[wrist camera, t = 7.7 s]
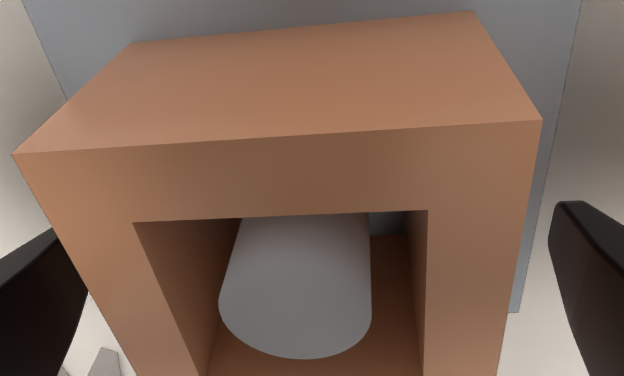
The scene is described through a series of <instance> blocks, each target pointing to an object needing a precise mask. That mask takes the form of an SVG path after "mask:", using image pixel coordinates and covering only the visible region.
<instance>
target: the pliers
mask: <svg viewBox="0 0 624 376" xmlns="http://www.w3.org/2000/svg"><path fill="white" fill-rule="evenodd" d="M58 376H69V375H68V373H67V372H66V371H65V370H64V368H63V367H62V366H61V369H60V371H59V373H58ZM87 376H121V374H120V367H119V361H118V355H117V352H115V351H111V350H108V349H104V348H101V349H100V351H99V353H98V355H97V357H96V359H95V361H94V363H93V365H92V367H91V369H90V371H89V373H88V375H87Z"/></svg>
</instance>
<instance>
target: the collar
mask: <svg viewBox="0 0 624 376" xmlns="http://www.w3.org/2000/svg"><path fill="white" fill-rule="evenodd" d="M542 123H543V118H542V117H541V115H540V114H539V112H538V111H537V109H536V108H535V106H534V104H533V103H532V101H531V100H530V98H529V97H528V95H527V94H526V92H525V90H524V89H523V87H522V86H521V84H520V83H519V81H518V80H517V78H516V76H515V75H514V73H513V72H512V70H511V69H510V67H509V66H508V64H507V62H506V61H505V59H504V58H503V56H502V55H501V53H500V51H499V50H498V48H497V47H496V45H495V44H494V42H493V41H492V39H491V37H490V36H489V34H488V33H487V31H486V30H485V28H484V27H483V25H482V23H481V22H480V20H479V19H478V17H477V16H476V14H475V13H474V11H473V10H471V11H460V12H450V13H439V14H428V15H418V16H407V17H397V18H386V19H376V20H365V21H355V22H344V23H334V24H323V25H313V26H302V27H291V28H281V29H270V30H260V31H249V32H239V33H228V34H218V35H207V36H197V37H186V38H176V39H165V40H154V41H144V42H133V43H129V44H128V45H127V46H126V47H125V48H124V49H123V50H122V51H121V52H120V53H119V54H118V55H117V56H115V57H114V58H113V59H112V60H111V61H110V62H109V63H108V64H107V65H106V66H105V67H104V68H103V69H102V70H100V71H99V72H98V73H97V74H96V75H95V76H94V77H93V78H92V79H91V80H90V81H89V82H88V83H86V84H85V85H84V86H83V87H82V88H81V89H80V90H79V91H78V92H77V93H76V94H75V95H74V96H72V97H71V98H70V99H69V100H68V101H67V102H66V103H65V104H64V105H63V106H62V107H61V108H60V109H59V110H57V111H56V112H55V113H54V114H53V115H52V116H51V117H50V118H49V119H48V120H47V121H46V122H45V123H43V124H42V125H41V126H40V127H39V128H38V129H37V130H36V131H35V132H34V133H33V134H32V135H31V136H29V137H28V138H27V139H26V140H25V141H24V142H23V143H22V144H21V145H20V146H19V147H18V148H17V149H16V150H14V151H13V152H12V153H11V155H12V157H13V159H14V161H15V162H16V164H17V166H18V168H19V169H20V171H21V173H22V175H23V177H24V178H25V180H26V182H27V184H28V185H29V187H30V189H31V191H32V192H33V194H34V196H35V198H36V199H37V201H38V203H39V205H40V206H41V208H42V210H43V212H44V213H45V215H46V217H47V219H48V220H49V222H50V224H51V226H52V227H53V229H54V231H55V233H56V234H57V236H58V238H59V240H60V241H61V243H62V245H63V247H64V248H65V250H66V252H67V254H68V255H69V257H70V259H71V261H72V262H73V264H74V266H75V268H76V269H77V271H78V273H79V275H80V276H81V278H82V280H83V282H84V283H85V285H86V287H87V289H88V290H89V292H90V294H91V296H92V297H93V299H94V301H95V303H96V304H97V306H98V308H99V310H100V311H101V313H102V315H103V317H104V318H105V320H106V322H107V324H108V325H109V327H110V329H111V331H112V332H113V334H114V336H115V338H116V339H117V341H118V343H119V345H120V346H121V348H122V350H123V352H124V354H125V355H126V357H127V359H128V361H129V362H130V364H131V366H132V368H133V369H134V371H135V373H136V375H137V376H496V375H497V369H498V364H499V358H500V353H501V347H502V342H503V336H504V331H505V325H506V320H507V314H508V309H509V304H510V298H511V293H512V287H513V282H514V276H515V271H516V265H517V260H518V254H519V249H520V243H521V238H522V232H523V227H524V221H525V216H526V210H527V205H528V199H529V194H530V188H531V183H532V177H533V172H534V166H535V161H536V155H537V150H538V145H539V139H540V134H541V128H542ZM386 211H405V234H398V235H370V270H371V305H372V319H371V323H370V326H369V329H368V331H367V332H366V334H365V335H364V337H363V338H362V339H361V340H360V341H359V342H358V343H356V344H355V345H354V346H353V347H351V348H349V349H347V350H345V351H343V352H341V353H339V354H335V355H332V356H329V357H324V358H317V359H290V358H283V357H278V356H274V355H270V354H267V353H264V352H262V351H259V350H257V349H255V348H253V347H251V346H249V345H247V344H246V343H244V342H243V341H241V340H240V339H238V338H237V337H236V336H235V335H234V334H233V333H232V332H231V331H230V330H229V329H228V328H227V326H226V325H225V323H224V322H223V320H222V317H221V315H220V312H219V305H218V300H219V294H220V291H221V288H222V284H223V281H224V278H225V274H226V271H227V268H228V264H229V261H230V258H231V254H232V251H233V248H234V244H235V241H236V237H237V234H238V231H239V227H240V222H239V218H246V217H269V216H293V215H316V214H339V213H362V212H386Z"/></svg>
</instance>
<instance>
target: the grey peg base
mask: <svg viewBox="0 0 624 376" xmlns="http://www.w3.org/2000/svg"><path fill="white" fill-rule="evenodd" d="M581 2H582V0H22V3H23V5H24V7H25V9H26V11H27V14H28V16H29V18H30V20H31V22H32V25H33V27H34V29H35V31H36V33H37V36H38V38H39V40H40V42H41V44H42V47H43V49H44V51H45V53H46V55H47V57H48V60H49V62H50V64H51V66H52V68H53V71H54V73H55V75H56V77H57V79H58V82H59V84H60V86H61V88H62V90H63V93H64V95H65V97H66V99H67V101H68V100H69V99H70V98H71V97H72V96H74V95H75V94H76V93H77V92H78V91H79V90H80V89H81V88H82V87H83V86H84V85H85V84H86V83H88V82H89V81H90V80H91V79H92V78H93V77H94V76H95V75H96V74H97V73H98V72H99V71H100V70H102V69H103V68H104V67H105V66H106V65H107V64H108V63H109V62H110V61H111V60H112V59H113V58H114V57H115V56H117V55H118V54H119V53H120V52H121V51H122V50H123V49H124V48H125V47H126V46H127V45H128V44H129V43H133V42H144V41H154V40H165V39H176V38H186V37H197V36H207V35H218V34H228V33H239V32H249V31H260V30H270V29H281V28H291V27H302V26H313V25H323V24H334V23H344V22H355V21H365V20H376V19H386V18H397V17H407V16H418V15H428V14H439V13H450V12H460V11H471V10H473V11H474V13H475V14H476V16H477V17H478V19H479V20H480V22H481V23H482V25H483V27H484V28H485V30H486V31H487V33H488V34H489V36H490V37H491V39H492V41H493V42H494V44H495V45H496V47H497V48H498V50H499V51H500V53H501V55H502V56H503V58H504V59H505V61H506V62H507V64H508V66H509V67H510V69H511V70H512V72H513V73H514V75H515V76H516V78H517V80H518V81H519V83H520V84H521V86H522V87H523V89H524V90H525V92H526V94H527V95H528V97H529V98H530V100H531V101H532V103H533V104H534V106H535V108H536V109H537V111H538V112H539V114H540V115H541V117H542V118H543V123H542V128H541V134H540V139H539V145H538V150H537V155H536V161H535V166H534V172H533V177H532V183H531V188H530V194H529V199H528V205H527V210H526V216H525V221H524V227H523V232H522V238H521V243H520V249H519V254H518V260H517V265H516V271H515V276H514V282H513V287H512V293H511V298H510V304H509V309H508V313H519V308H520V303H521V298H522V293H523V288H524V283H525V279H526V274H527V269H528V264H529V259H530V254H531V249H532V244H533V239H534V234H535V229H536V224H537V219H538V214H539V209H540V204H541V199H542V195H543V190H544V185H545V180H546V175H547V170H548V165H549V160H550V155H551V150H552V145H553V140H554V135H555V130H556V125H557V120H558V115H559V110H560V106H561V101H562V96H563V91H564V86H565V81H566V76H567V71H568V66H569V61H570V56H571V51H572V46H573V41H574V36H575V31H576V26H577V22H578V17H579V12H580V7H581ZM239 222H240V227H239V231H238V234H237V237H236V241H235V244H234V248H233V251H232V254H231V258H230V261H229V264H228V268H227V271H226V274H225V278H224V281H223V284H222V288H221V291H220V294H219V300H218V305H219V312H220V315H221V317H222V320H223V322H224V323H225V325H226V326H227V328H228V329H229V330H230V331H231V332H232V333H233V334H234V335H235V336H236V337H237V338H238V339H240V340H241V341H243V342H244V343H246V344H247V345H249V346H251V347H253V348H255V349H257V350H259V351H262V352H264V353H267V354H270V355H274V356H278V357H283V358H290V359H317V358H324V357H329V356H332V355H335V354H339V353H341V352H343V351H345V350H347V349H349V348H351V347H353V346H354V345H355V344H356V343H358V342H359V341H360V340H361V339H362V338H363V337H364V335H365V334H366V332H367V331H368V329H369V326H370V323H371V319H372V305H371V270H370V235H398V234H405V211H386V212H362V213H339V214H316V215H293V216H269V217H246V218H239Z"/></svg>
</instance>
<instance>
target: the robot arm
mask: <svg viewBox="0 0 624 376" xmlns="http://www.w3.org/2000/svg"><path fill="white" fill-rule="evenodd" d="M548 248H549V252H550V256H551V260H552V263H553V267H554V271H555V274H556V278H557V282H558V286H559V289H560V293H561V297H562V300H563V304H564V308H565V312H566V315H567V318H568V322H569V325H570V328H571V330H572V333H573V336H574V338H575V341H576V343H577V346H578V348H579V351H580V353H581V356H582V358H583V361H584V363H585V366H586V368H587V370H588V373H589V375H590V376H624V225H622V224H620V223H619V222H617V221H615V220H614V219H612V218H611V217H609V216H607V215H606V214H604V213H603V212H601V211H599V210H598V209H596V208H595V207H593V206H591V205H590V204H588V203H586V202H584V201H580V200H577V201H560V202H559V203H557V204H556V206H555V208H554V213H553V217H552V222H551V226H550V230H549V235H548ZM88 291H89V290H88V289H87V287H86V285H85V283H84V282H83V280H82V278H81V276H80V275H79V273H78V271H77V269H76V268H75V266H74V264H73V262H72V261H71V259H70V257H69V255H68V254H67V252H66V250H65V248H64V247H63V245H62V243H61V241H60V240H59V238H58V236H57V234H56V233H55V231H54V229H53V227H52V228H50V229H48V230H47V231H45V232H43V233H42V234H40V235H39V236H37V237H35V238H34V239H32V240H30V241H29V242H27V243H26V244H24V245H22V246H21V247H19V248H17V249H16V250H14V251H12V252H11V253H9V254H8V255H6V256H4V257H3V258H1V259H0V376H58V373H59V371H60V369H61V366H62V364H63V361H64V359H65V357H66V354H67V352H68V350H69V347H70V345H71V343H72V340H73V337H74V335H75V332H76V330H77V327H78V324H79V321H80V318H81V314H82V311H83V308H84V304H85V301H86V298H87V295H88Z"/></svg>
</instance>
